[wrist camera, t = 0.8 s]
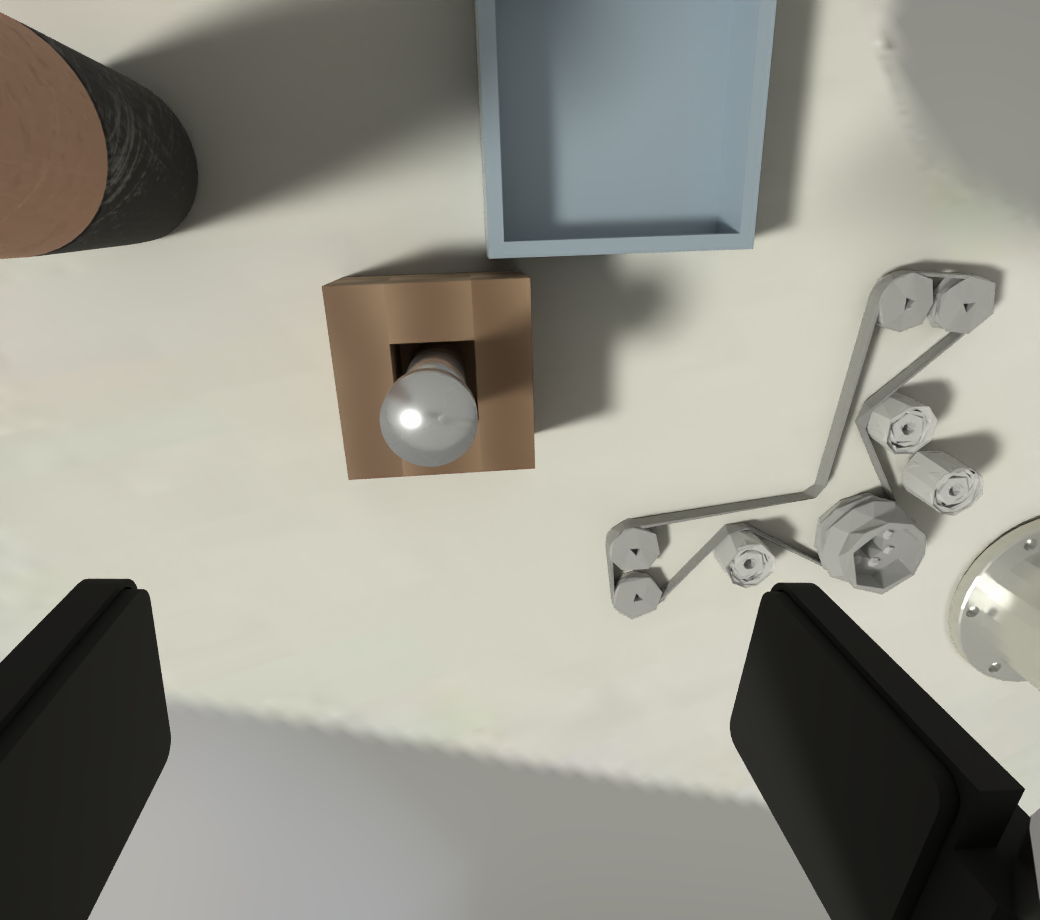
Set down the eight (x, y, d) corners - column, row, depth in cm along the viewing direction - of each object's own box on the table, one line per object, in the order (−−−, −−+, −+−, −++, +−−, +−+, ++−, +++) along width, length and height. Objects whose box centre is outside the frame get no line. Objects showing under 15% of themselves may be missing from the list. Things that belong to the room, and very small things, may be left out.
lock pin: (471, 328, 32) (475, 371, 23) (475, 397, 33) (480, 463, 24) (400, 331, 32) (374, 376, 22) (406, 400, 33) (385, 469, 24)
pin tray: (746, -44, 28) (784, -79, 25) (724, 246, 33) (753, 248, 29) (472, -43, 27) (473, -79, 24) (486, 255, 32) (489, 258, 28)
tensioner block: (520, 270, 32) (530, 278, 27) (525, 436, 35) (534, 468, 31) (342, 277, 31) (321, 286, 27) (364, 445, 35) (348, 479, 30)
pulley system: (1046, 398, 38) (926, 220, 33) (1121, 426, 34) (997, 227, 29) (711, 670, 45) (566, 558, 40) (739, 722, 41) (580, 604, 35)
